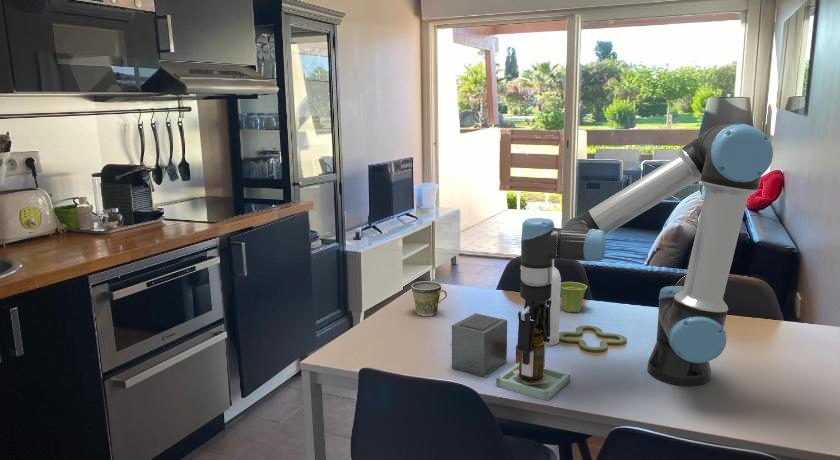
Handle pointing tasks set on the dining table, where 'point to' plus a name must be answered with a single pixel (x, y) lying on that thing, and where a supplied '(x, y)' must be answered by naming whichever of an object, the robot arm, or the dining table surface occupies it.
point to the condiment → (535, 362)
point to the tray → (534, 390)
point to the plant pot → (572, 296)
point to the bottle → (554, 307)
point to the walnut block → (517, 355)
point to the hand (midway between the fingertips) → (533, 370)
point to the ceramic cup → (427, 297)
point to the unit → (479, 344)
